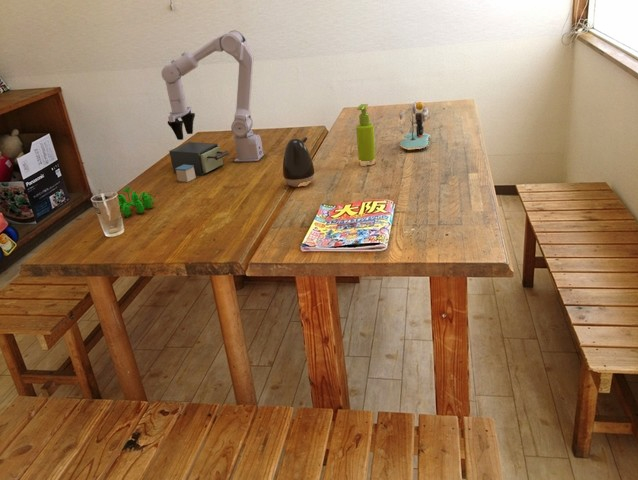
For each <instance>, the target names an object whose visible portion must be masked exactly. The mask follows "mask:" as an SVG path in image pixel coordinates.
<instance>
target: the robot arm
mask: <svg viewBox="0 0 638 480" xmlns="http://www.w3.org/2000/svg"><path fill="white" fill-rule="evenodd" d="M214 52H219V53H222V52H225V53H226V54H228V55H229V56H231V57H233V58H234V59H235V61H236V62H237V63H238V76H237V90H236V91H237V92H236V105H235V106H236V107H235V114H234V118H233V121H232V123H231V125H230V129H231V132H232V134H233V138H234V144H235V150H236V155H237V157H236V158H235V159H234V160H233V162H234V163H237V162H238V163H239V162H258V161H259V160H261V159H262V158H263V157H264V156H265V153H264V149H263V142H262V138H261V135H260V134H255V133H254V131H253V130H252V127H253V125H254V123H253V119H252V111H251V101H252V99H251V98H252V86H253V73H254V72H253V71H254V55H253V53H252V51H251V49H250V46H249V44H248V41H247V38H246V37H245V36H244V35H243V33H241V32H240V31H238V30H236V29H235V30H234V29H233V30H230V31H229V32H228V33H224V34H222V35H219V36H217V37H215V38H213V39H212V40H211V41H209V42H207V43H206V44H205V45H203V46H202V47H200V48H198V50H196V51H195V52H190V51H187V52H185V51H184V52H182V53H181V56H179V57H178V58H176V59H175V60H174V59H172V60H171V61H170V64H167V65H165V66H164V67H163V68H162V69H161V77H162V79H163V81H165V86H166V91H167V96H168V101H169V104H170V110H171V111H170V112H169V116H167V118H168V121H167V125H168V126H169V128H170V129H171V130H172V131H173V133H174V135H175V138H176V140H177V141H182V140H184V130H183V126H184V129H185V133H186V134H187V135H193V133H194V120H195V117H196V114H195V112H193V107H192V106H188V105H187V100H186V96H185V90H184V85H183V81H182V77H185V75H187V74H189V73H190V72H192V71H193V70H195V69H197V68H198V66H199V62H200V61H201V60H203V59H205V58H206V57H208V56H209V55H211V54H213V53H214ZM179 119H181V120H179Z"/></svg>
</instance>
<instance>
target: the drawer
mask: <svg viewBox="0 0 638 480" xmlns="http://www.w3.org/2000/svg"><path fill="white" fill-rule="evenodd" d="M228 155H229V151H228V150H225V151H222V149H221V146H218V147H216V148H214V147H213V148H211V149H209V150H207V151H205V152H203V153H200V154H199V157H200V162H201V167H202V171H204V173H206V174H207V172H208V173H210V172H211V170H212V171H214V170H215V169H217V168H219V167H221V166H222V165H224V159H223V158H224V157H226V156H228ZM209 171H210V172H209Z"/></svg>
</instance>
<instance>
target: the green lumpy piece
mask: <svg viewBox="0 0 638 480" xmlns="http://www.w3.org/2000/svg"><path fill="white" fill-rule="evenodd" d="M130 191H132V188H130V187H126V188H124V189H123V192H124V193H127V196H128V201H129V202H128V201H127V198H126V197H125V196H124V194H122V193H120V194H118V195H117V198H119V199H118V200H119V202H118V203H119V204H118V205H119V209H120V212H121V214H122V213H123V215H124V216H125V217H126V218H128V217H130V215H131V213H132V212H131V208H130V207H132V206H134V207H135V209H136V212H137V213H139V214H144V212H145V209H148V210H150V209H152V208H153V207H154V205H155V199H154V198H153V197H152V195H151V193H150V192H148V191H143V192H141V193H140V194H139V195H138V193H137V191H135V190H133V191H132V193H131V195H130V193H129V192H130ZM152 203H153V204H152Z"/></svg>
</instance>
